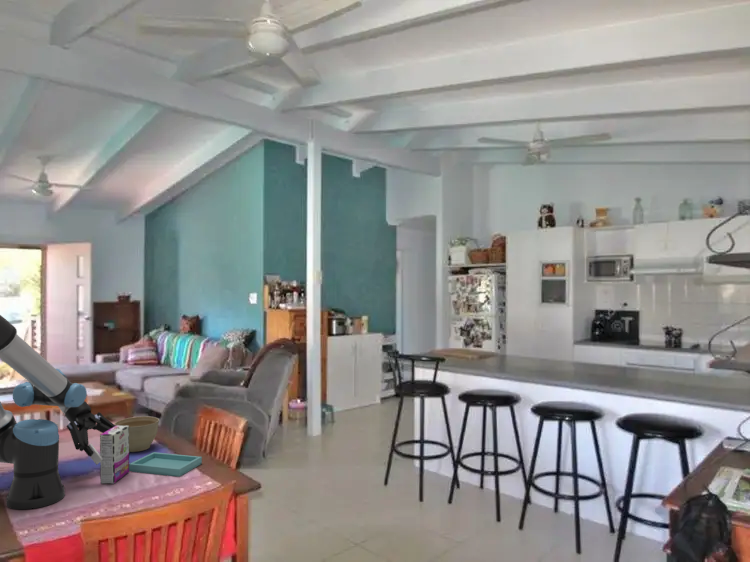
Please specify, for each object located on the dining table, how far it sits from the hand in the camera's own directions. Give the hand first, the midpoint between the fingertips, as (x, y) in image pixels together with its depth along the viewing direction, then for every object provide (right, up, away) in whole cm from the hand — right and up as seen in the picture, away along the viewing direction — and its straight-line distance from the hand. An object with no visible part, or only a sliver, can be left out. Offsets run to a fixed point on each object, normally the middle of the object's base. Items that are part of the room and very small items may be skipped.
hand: (112, 456), depth 190 cm
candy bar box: (+1, -8, 0) cm, 8 cm away
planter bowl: (-6, -7, +32) cm, 34 cm away
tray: (+14, -7, +11) cm, 19 cm away
